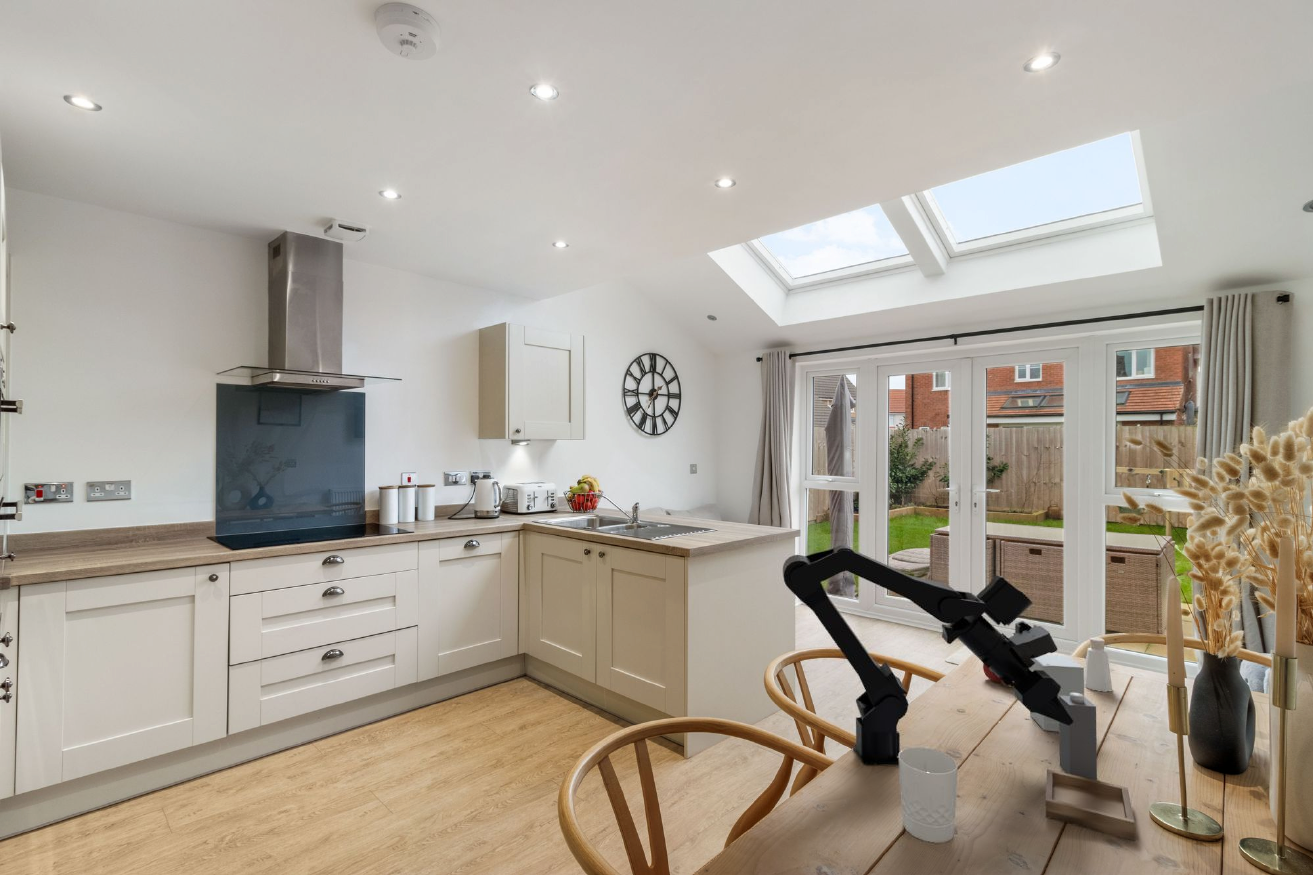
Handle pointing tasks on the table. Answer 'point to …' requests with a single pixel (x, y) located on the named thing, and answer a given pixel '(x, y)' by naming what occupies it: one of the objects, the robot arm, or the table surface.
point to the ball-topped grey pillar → (1078, 737)
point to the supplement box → (1059, 681)
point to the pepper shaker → (1097, 667)
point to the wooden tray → (1089, 804)
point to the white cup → (928, 793)
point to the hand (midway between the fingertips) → (1058, 711)
